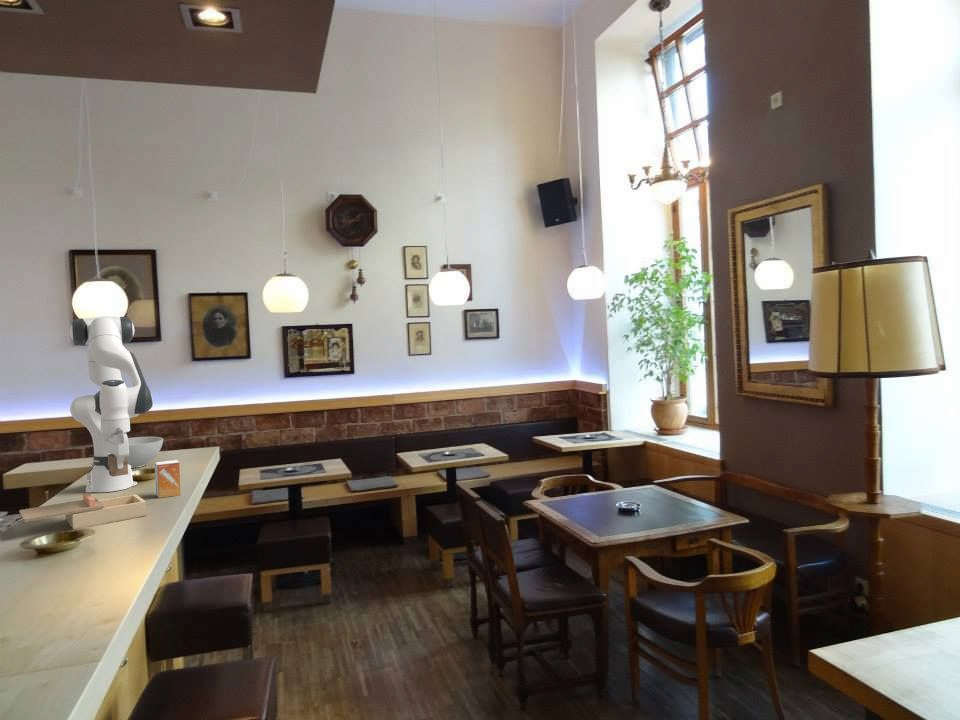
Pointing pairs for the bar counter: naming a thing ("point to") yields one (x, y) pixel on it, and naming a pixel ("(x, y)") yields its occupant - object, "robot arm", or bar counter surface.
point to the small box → (167, 478)
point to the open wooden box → (110, 512)
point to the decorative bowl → (143, 450)
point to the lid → (61, 508)
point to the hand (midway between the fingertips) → (118, 467)
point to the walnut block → (113, 466)
